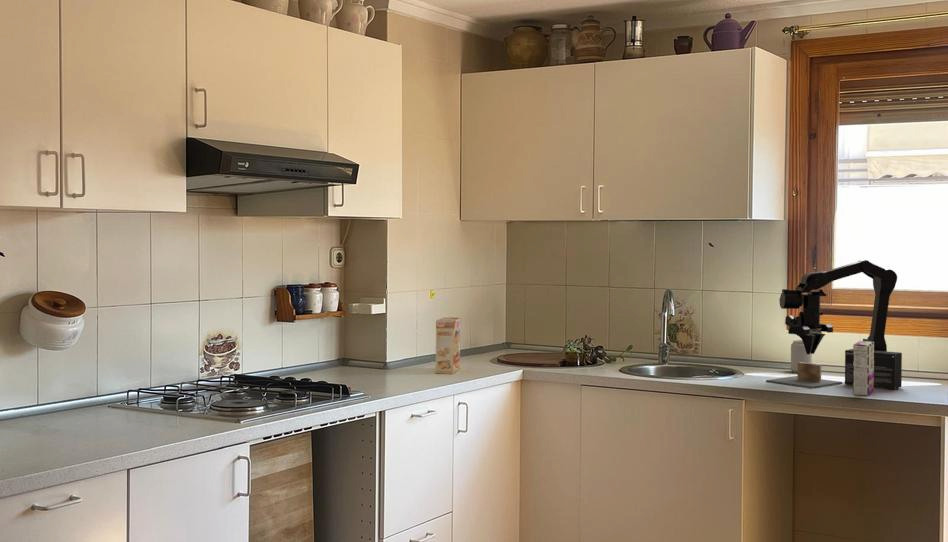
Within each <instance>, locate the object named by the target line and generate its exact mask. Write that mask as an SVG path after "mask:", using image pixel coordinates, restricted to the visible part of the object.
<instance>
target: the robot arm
mask: <svg viewBox="0 0 948 542" xmlns="http://www.w3.org/2000/svg"><path fill="white" fill-rule="evenodd" d="M861 273H863V274H864V275H866V276H867V277H868V278H870V279H872V287H873V289H874V290H873V291H874V294H875V295H874V301H873V302H874V303H873V309H872V317H871V323H870V324H871V325H870V331H869V335H868V337H867V338H863V339H862V341H868V342H874V351H887V352H888V349H887V348H888V346H887V342H886V338H885V334H886V325H887V320H888V311H889V303H890V297H891V295H892V293H893V291H894V289H895V287H896V284H897V281H898V274H897V273H896V272H895V271H894V270H893V269H886V268H883V267H882V266H879V265H876V264H874V263H873V262H871V261H869V260H867V259H859V260H858V261H855V262H852V263H849V264H845V265H840V266H838V267H834V268H831V269H828V270H821V271H812V272H806V273H804V274H803V275H802V276H801V277H800V278H801V279H800V282H799V283H798V285H797V286H796V288H794V289H787V288H786V289H785V288H783V289H782V290H781V293H780V298H779V301H778V302H779V306H780V309H781V310H784V309H786V310H798V309H800V307H802V311H800V312H799V314H798V316H793V315H786V316H785V319H784V324H785V325H786V326H787V327H788V329H787V331H788V332H787V334H789V335H796V336H797V337H799V338H800V340H802V341H803V344H804V347H805V350H806V353H807V354H810V353H811V354H812V355H814V354H815V353H816V350H817V348H819V345H820V343H821V342H822V340H823V338H825V336H826V334H825V332H827V334H828V333H834V326H833V325H832V324H830V323H820V322H821V316H824V315H823V312H822V311H821V297H827V293H826V292H825V291H824V290H823V289H821V288H823V287H825V286H827V285H828V284H831V283H832V282H835V281H838V280H841V279H843V278H847V277H851V276H855V275H858V274H861ZM823 332H824V333H823Z"/></svg>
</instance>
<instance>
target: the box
mask: <svg viewBox="0 0 948 542" xmlns="http://www.w3.org/2000/svg"><path fill="white" fill-rule="evenodd" d="M902 356H903V353H902V352H897V351H888V350H887V351H874V388H877V389H879V388H880V389H887V390H897V389H899V388H902V381H903V380H902V377H903V375H902V374H903V373H902V370H903V369H902V367H903V365H902V364H903V361H902V360H903V357H902ZM844 368H845V369H844V385H848V386H853V348H850V349H846V350H844Z"/></svg>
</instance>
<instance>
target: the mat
mask: <svg viewBox="0 0 948 542" xmlns="http://www.w3.org/2000/svg"><path fill="white" fill-rule="evenodd" d="M765 382H766V383H771V382H772V384H778V385H786V386H791V385H792V386H793V387H798V386H799V387H800V388H805V387H806V388H807V389H812V388H813V389H817V388H818V387H819V388H823V387H824V388H825V387H831V386H837V385H842V384H843V382H842V381H839V380H838V381H837V380H829V379H822V378H821V382H811V381H804V380H798V375H793V376H787V377H786V376H785V377H780V378H773V379H772V378H771V379H766V380H765ZM799 387H798V388H799Z"/></svg>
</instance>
